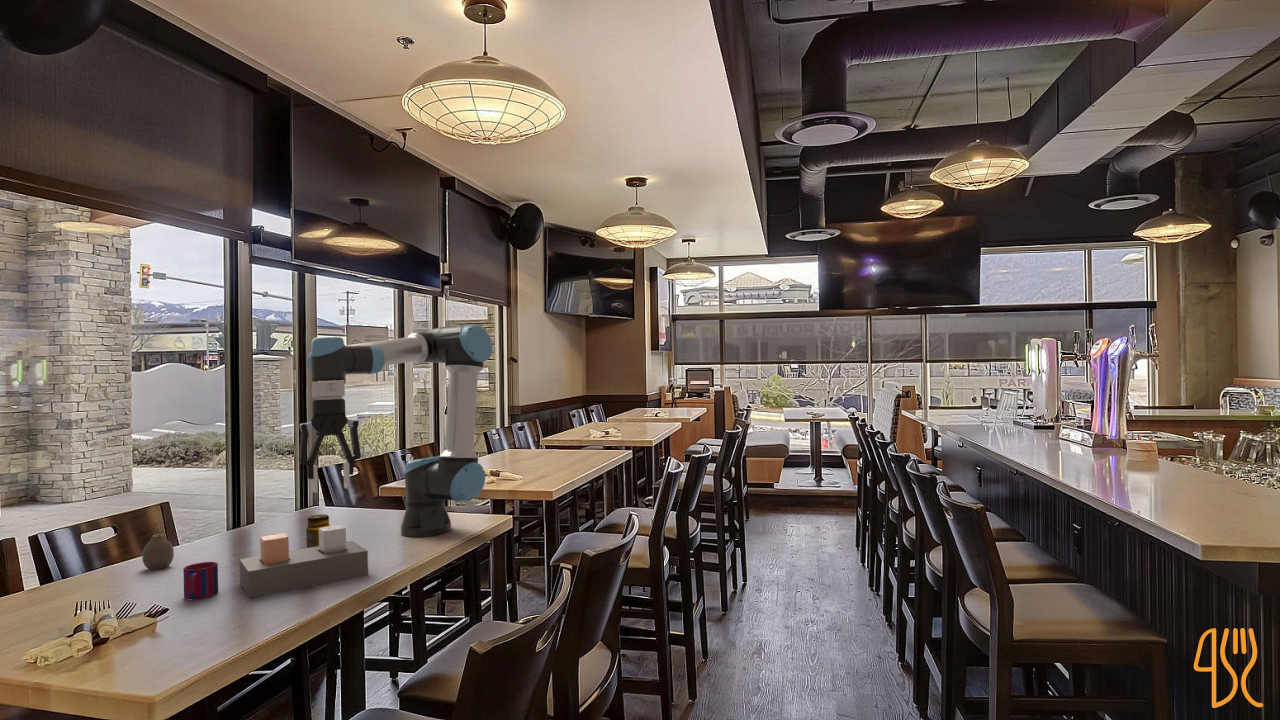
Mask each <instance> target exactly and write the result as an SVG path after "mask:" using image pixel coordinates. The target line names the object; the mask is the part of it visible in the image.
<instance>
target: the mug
mask: <svg viewBox="0 0 1280 720" xmlns="http://www.w3.org/2000/svg"><path fill="white" fill-rule="evenodd" d="M218 567H219V563H218V562H215V561H202V562H198V563H197V562H196V563H192V564H189V565H186V566H184V567H183V570H182V571H183V599H184V600H186V599H192V600H191V601H195V600H194V599H197V600H202V599H201V598H204V599H208V598H211V597H213V595H214V596H216V595H217V594H218V593H219V568H218ZM215 594H216V595H215ZM210 596H211V597H210ZM207 597H208V598H207Z"/></svg>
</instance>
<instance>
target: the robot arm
mask: <svg viewBox="0 0 1280 720" xmlns="http://www.w3.org/2000/svg"><path fill="white" fill-rule="evenodd" d="M344 342H345V341H344V339H343V337H341V336H319V337H318V336H317V337H314V338H313V339H312V340H311V347H310V352H309V353H308V354H307V358H306V364H307V368H308V370H309V372H311V381H312V382H311V388H312V389H311V393H312V396H311V397H312V398H314V399H313V401H312V403H311V404H312V418H311V419H310V421H309V422H305V423H300V424H299V425H298V426H299V427H298V428H299V430H300V441H299V443H300V444H299V451H298V463H299V464H300V465H304V466H306V477H307V480H311V492H312V493H315V494H317V493H319V489H318V465H316V464H315V462H316V459H317V456H318V454H319V451H320V448H321V444H322V442H323V440H324V438H325V437H328V436H330V435H331V436H335V438H336V439H337V441H338V443H339V445H340V448H341V451H342V453H343V455H344V458H345V460H346V461H344V462H343V463H342V464H343V488H344V489H347V490H349V489H351V485H350V484H351V482H350V481H351V479H350V477H351V476H352V475H354V462H355V461H357V460H360V459H361V456H362V455H361V447H360V441H359V434H358V433H359V432H358V427H359V423H360V422H359V420H355V419H353V420H352V419H348V417H347V415H346V400H345V398H343V397H345V396H346V393H345V392H346V391H345V390H346V389H345V385H346V384H345V381H346V380H345V379H346V378H345V377H346V376H347V375H371V374H373V375H374V374H378V373H380V372H381V371H382V370H383V369H384V367H387V366H392V365H398V364H404V363H409V362H410V363H411V362H412V363H415V364H423V363H426V364H427V363H434V364H435V363H436V364H438V363H439V364H444V368H445V369H446V370H447V372H449V373H448V374H449V376H448V377H449V379H448V381H449V382H448V395H447V409H446V411H447V413H446V427H445V439H444V440H445V446H444V450H443V452H442V453H441V454H440V455H438V456H432V457H426V458H419V459H418V458H417V459H413V460H408V461H407V462H406V463H405V466H404V467H405V469H404V470H405V471H404V483H405V484H404V485H405V511H404V516H403V519H402V522H401V525H400V534H401V535H402V536H405V537H411V536H412V537H413V538H415V537H416V538H417V536H421V537H431V536H436V535H442V534H444V533H448V532H450V531H451V530H452V521H451V519H450V516H449V513H448V511H447V508H446V501H454V502H470V501H473V500H474V499H476V498H477V497H478V495H479V494H481V492H482V490H483V489H484V487H485V482H486V471H485V470H484V467H483V466H482V465H481V464H480V463H479V455H478V454H477V453H476V452H475V450H474V449H475V436H476V435H475V429H476V414H477V411H476V410H477V395H478V392H477V391H478V382H479V381H478V380H479V379H478V378H479V374H480V373H481V372H482V371H483V370H484V363H485V362H487V361H488V360H489V359H490V357H491V355H492V352H493V341H492V339H491V336H490V334H489V333H488V332H487V330H486V328H484V327H483V326H481V325H478V324H461V325H451V326H441V327H436V328H432V329H429V330H424V331H420V332H419V331H418V332H414V333H410V334H409V335H408V336H407V337H400V338H393V339H386V340H384V339H383V340H378V341H377V340H376V341H368V342H362V343H361V342H360V343H356V344H347V345H345V343H344ZM345 375H346V376H345ZM346 425H347V427H348V428H349V434H350V441H351V448H352V449H351V450H352V452H351V450H350V446H349V445H348V442H347V440H346V438H345V435H344V431H343V429H344V428H345V426H346ZM311 427H312V428H313V429H314V430H315V431H316V434H315V436H314V441H313V444H312V446H311V449H310V450H309V455H308V453H307V452H308V446H309V445H308V441H309V432H310V431H311ZM307 455H308V457H307ZM350 475H351V476H350ZM412 537H411V538H412Z"/></svg>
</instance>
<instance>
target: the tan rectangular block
mask: <svg viewBox="0 0 1280 720" xmlns="http://www.w3.org/2000/svg"><path fill="white" fill-rule="evenodd" d="M259 538H260V539H259V540H260V544H259V545H260V556H261V563H262V564H263V565H265V564H271V563H277V562H282V561H288V560H289V551H290V546H289V544H290V542H289V536H288V535H287V534H286V533H285V532H283V533H277V534H271V535H262V536H260V537H259Z"/></svg>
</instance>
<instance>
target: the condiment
mask: <svg viewBox="0 0 1280 720" xmlns="http://www.w3.org/2000/svg"><path fill="white" fill-rule="evenodd" d="M329 526H331V525H330V516H329V515H328V514H315V515H310V516H308V518H307V527H306V529H305V531H306V534H305V535H306V537H305V538H306V548H311V547H317V546H319V528H322V527H329Z"/></svg>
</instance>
